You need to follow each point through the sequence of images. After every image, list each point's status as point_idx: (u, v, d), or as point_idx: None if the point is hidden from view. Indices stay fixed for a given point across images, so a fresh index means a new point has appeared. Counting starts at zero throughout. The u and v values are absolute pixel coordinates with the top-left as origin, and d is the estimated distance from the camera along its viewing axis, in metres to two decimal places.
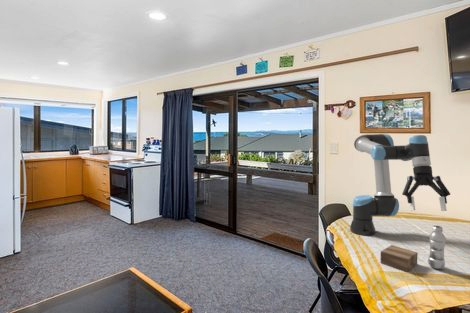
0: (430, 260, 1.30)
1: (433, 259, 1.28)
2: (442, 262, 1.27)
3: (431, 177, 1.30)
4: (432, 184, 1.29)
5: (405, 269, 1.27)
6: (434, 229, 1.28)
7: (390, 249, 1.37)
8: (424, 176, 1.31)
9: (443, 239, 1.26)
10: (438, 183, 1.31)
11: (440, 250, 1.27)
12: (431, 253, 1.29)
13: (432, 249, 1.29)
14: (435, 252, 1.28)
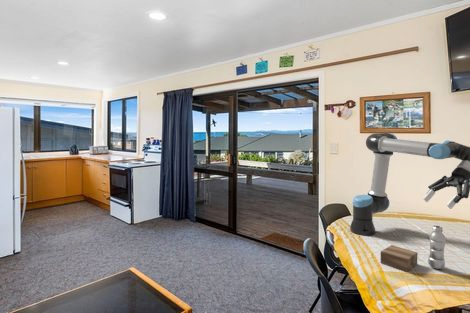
0: (430, 260, 1.30)
1: (433, 259, 1.28)
2: (442, 262, 1.27)
3: None
4: (449, 186, 1.37)
5: (405, 269, 1.27)
6: (434, 229, 1.28)
7: (390, 249, 1.37)
8: None
9: (443, 239, 1.26)
10: (442, 182, 1.41)
11: (440, 250, 1.27)
12: (431, 253, 1.29)
13: (432, 249, 1.29)
14: (435, 252, 1.28)
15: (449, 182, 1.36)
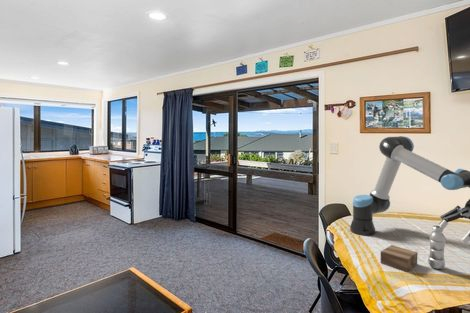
0: (430, 260, 1.30)
1: (433, 259, 1.28)
2: (442, 262, 1.27)
3: None
4: (463, 217, 1.32)
5: (405, 269, 1.27)
6: (434, 229, 1.28)
7: (390, 249, 1.37)
8: None
9: (443, 239, 1.26)
10: (455, 212, 1.35)
11: (440, 250, 1.27)
12: (431, 253, 1.29)
13: (432, 249, 1.29)
14: (435, 252, 1.28)
15: (463, 214, 1.30)
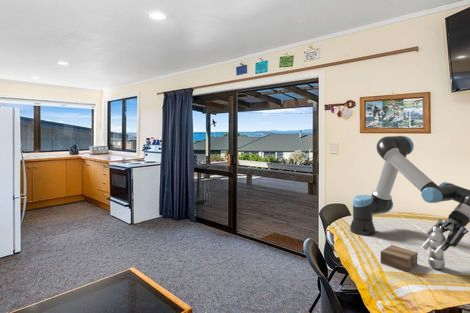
0: (430, 260, 1.30)
1: (433, 259, 1.28)
2: (442, 262, 1.27)
3: None
4: (447, 230, 1.31)
5: (405, 269, 1.27)
6: (434, 229, 1.28)
7: (390, 249, 1.37)
8: None
9: (443, 239, 1.26)
10: None
11: None
12: (431, 253, 1.29)
13: (432, 248, 1.29)
14: None
15: (446, 226, 1.31)
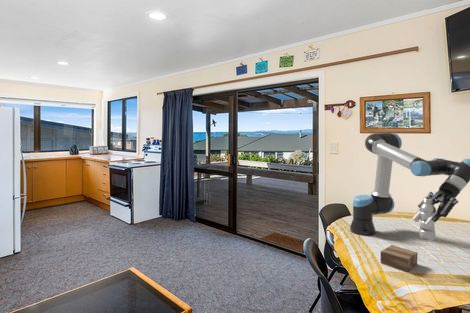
0: (421, 232, 1.29)
1: (424, 231, 1.28)
2: (432, 233, 1.26)
3: None
4: (438, 202, 1.31)
5: (405, 269, 1.27)
6: (424, 201, 1.28)
7: (390, 249, 1.37)
8: None
9: (433, 210, 1.25)
10: None
11: None
12: (422, 225, 1.29)
13: (423, 220, 1.29)
14: None
15: (436, 197, 1.30)
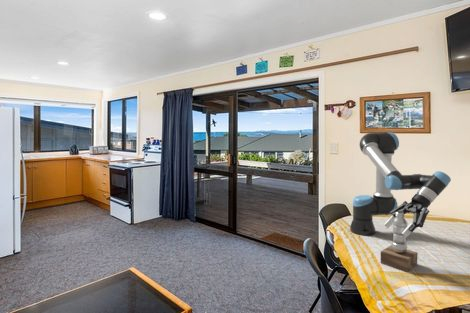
0: (393, 245, 1.34)
1: (395, 244, 1.33)
2: (403, 246, 1.31)
3: None
4: (409, 212, 1.36)
5: (405, 269, 1.27)
6: (396, 214, 1.32)
7: (390, 249, 1.37)
8: None
9: (404, 224, 1.30)
10: (402, 207, 1.40)
11: (402, 235, 1.31)
12: (394, 238, 1.34)
13: (395, 233, 1.33)
14: (397, 237, 1.32)
15: (408, 208, 1.35)
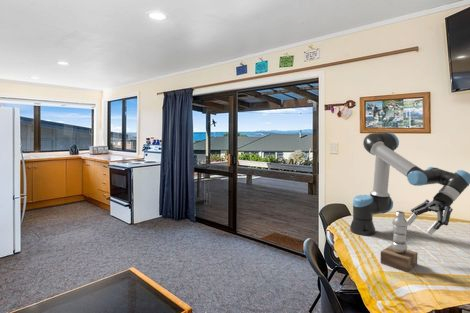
0: (393, 244, 1.34)
1: (396, 244, 1.33)
2: (404, 246, 1.31)
3: None
4: (431, 210, 1.38)
5: (405, 269, 1.27)
6: (397, 214, 1.33)
7: (390, 249, 1.37)
8: None
9: (405, 224, 1.30)
10: (424, 206, 1.41)
11: (402, 234, 1.31)
12: (394, 238, 1.34)
13: (395, 233, 1.33)
14: (397, 237, 1.32)
15: (431, 207, 1.36)
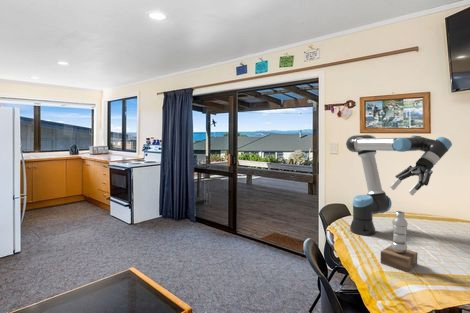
0: (393, 245, 1.34)
1: (395, 244, 1.33)
2: (403, 246, 1.31)
3: None
4: (413, 175, 1.48)
5: (405, 269, 1.27)
6: (396, 214, 1.33)
7: (390, 249, 1.37)
8: None
9: (404, 224, 1.30)
10: (407, 171, 1.52)
11: (402, 234, 1.31)
12: (394, 238, 1.34)
13: (395, 233, 1.33)
14: (397, 237, 1.32)
15: (413, 171, 1.46)
